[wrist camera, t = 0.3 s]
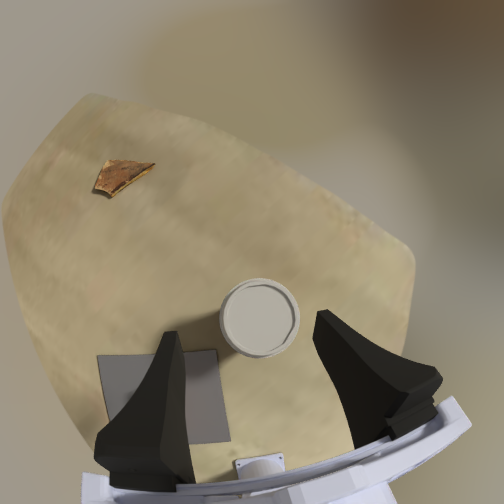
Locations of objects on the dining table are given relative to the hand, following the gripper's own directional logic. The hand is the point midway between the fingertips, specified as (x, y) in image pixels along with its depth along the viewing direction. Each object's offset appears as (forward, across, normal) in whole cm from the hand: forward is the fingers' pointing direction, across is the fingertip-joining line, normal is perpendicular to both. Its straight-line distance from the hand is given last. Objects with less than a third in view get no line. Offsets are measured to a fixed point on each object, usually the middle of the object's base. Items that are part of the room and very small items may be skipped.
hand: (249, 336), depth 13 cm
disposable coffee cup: (+22, -4, +19) cm, 29 cm away
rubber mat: (+14, +12, +28) cm, 33 cm away
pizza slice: (+42, +17, -2) cm, 46 cm away
